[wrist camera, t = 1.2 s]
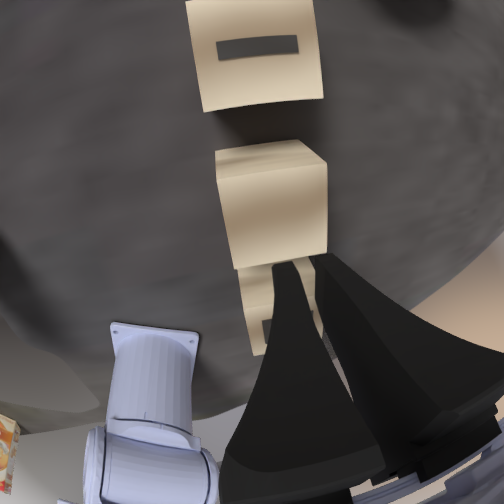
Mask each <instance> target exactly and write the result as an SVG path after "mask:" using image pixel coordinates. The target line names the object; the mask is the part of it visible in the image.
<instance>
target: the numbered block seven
mask: <svg viewBox="0 0 504 504" xmlns="http://www.w3.org/2000/svg"><path fill="white" fill-rule="evenodd" d="M288 261H292V262H293V263H294V265H295V266H296V268H297V270H298V272H299V274H300V277H301V280H302V283H303V286H304V290H305V293H306V296H307V300H308V303H309V306H310V310H311V313H312V316H313V319H314V322H315V325H316V328H317V330H318V332H319V334H320V337H321V339H322V332H323V324H322V321H321V318H320V315H319V311H318V308H317V305H316V302H315V270H314V268H313V266H312V264H311V261H310V259H309V257H308V256H305V257H300V258H295V259H289V260H284V261H278V262H273V263H267V264H262V265H256V266H250V267H245V268H239V269H238V276H239V283H240V290H241V297H242V303H243V310H244V314H245V319H246V324H247V328H248V333H249V337H250V342H251V346H252V351H253V355H254V356H256V355H261V354H265V351H266V347H267V343H268V338H269V333H270V328H271V321H272V315H273V306H274V287H273V278H272V269H271V267H272V266H273V265H274V264H277V263H282V262H288Z"/></svg>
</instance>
